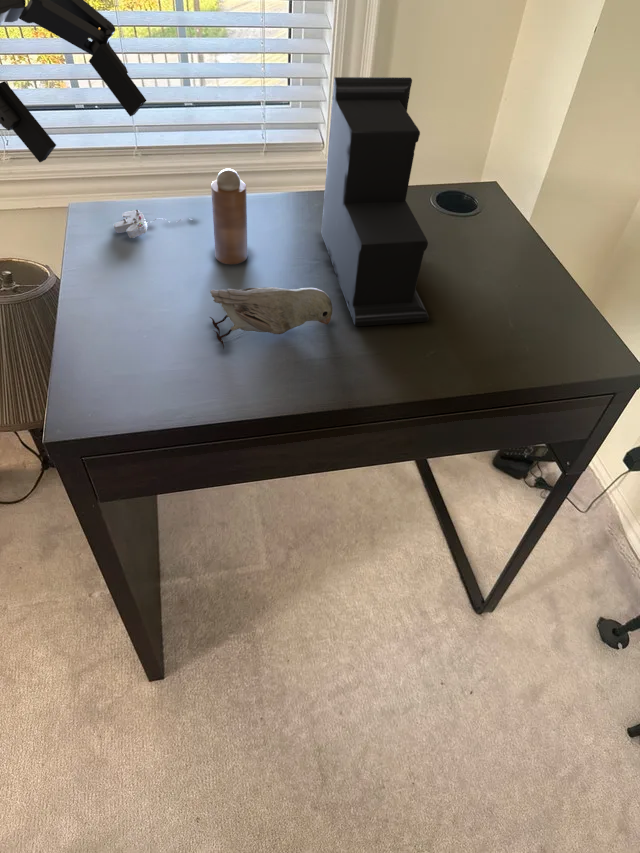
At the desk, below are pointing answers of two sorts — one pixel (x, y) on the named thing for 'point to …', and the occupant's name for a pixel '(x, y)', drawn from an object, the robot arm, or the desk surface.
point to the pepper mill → (229, 217)
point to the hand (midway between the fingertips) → (96, 130)
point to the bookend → (373, 201)
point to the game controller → (132, 224)
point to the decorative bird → (272, 308)
